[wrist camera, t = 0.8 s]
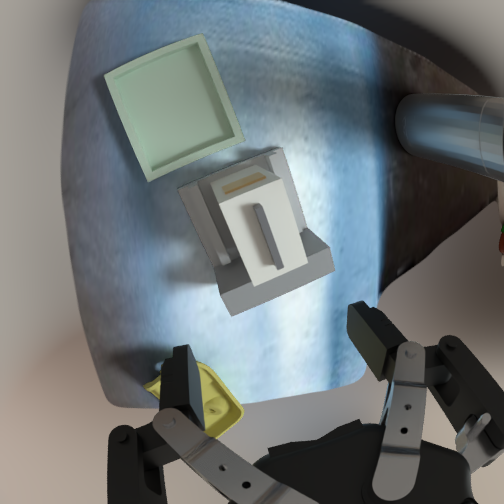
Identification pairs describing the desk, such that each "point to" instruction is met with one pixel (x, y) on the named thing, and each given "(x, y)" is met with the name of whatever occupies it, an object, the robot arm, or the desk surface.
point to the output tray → (174, 106)
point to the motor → (502, 241)
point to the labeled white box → (260, 222)
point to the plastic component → (211, 401)
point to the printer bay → (226, 252)
